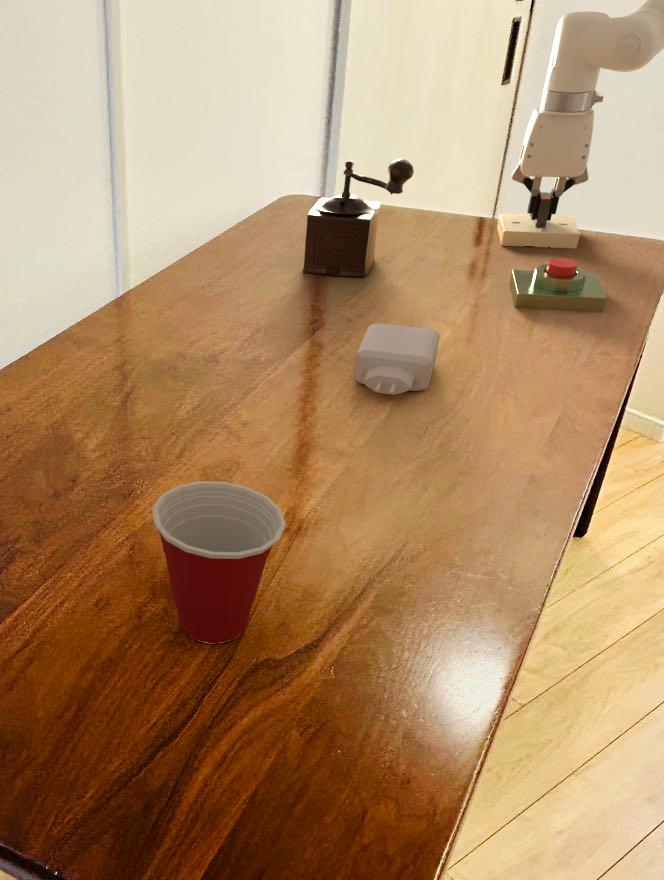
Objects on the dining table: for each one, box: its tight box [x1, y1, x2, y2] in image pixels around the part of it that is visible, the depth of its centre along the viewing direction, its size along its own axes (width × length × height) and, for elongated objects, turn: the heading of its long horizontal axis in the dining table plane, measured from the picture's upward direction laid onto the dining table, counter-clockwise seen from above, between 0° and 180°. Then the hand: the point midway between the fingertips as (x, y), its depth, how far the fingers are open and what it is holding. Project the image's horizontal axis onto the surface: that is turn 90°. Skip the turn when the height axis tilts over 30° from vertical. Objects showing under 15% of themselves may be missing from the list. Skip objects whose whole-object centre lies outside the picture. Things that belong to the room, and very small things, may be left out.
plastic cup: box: [152, 480, 287, 643], centre depth 76 cm, size 11×11×12 cm
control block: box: [508, 263, 608, 314], centre depth 135 cm, size 12×10×4 cm
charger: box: [353, 322, 441, 396], centre depth 114 cm, size 5×9×15 cm
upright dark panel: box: [533, 191, 551, 227], centre depth 155 cm, size 5×2×5 cm, turn 165°
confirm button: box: [546, 257, 579, 277], centre depth 133 cm, size 4×4×2 cm
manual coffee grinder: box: [302, 158, 415, 278], centre depth 144 cm, size 16×11×18 cm
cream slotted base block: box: [496, 213, 581, 250], centre depth 157 cm, size 12×10×3 cm
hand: (540, 217), depth 155 cm, fingers closed on upright dark panel
